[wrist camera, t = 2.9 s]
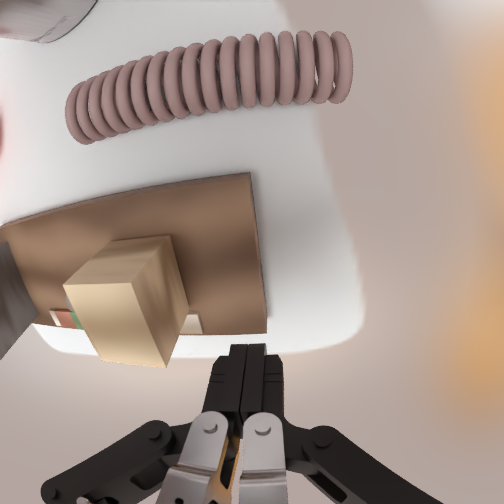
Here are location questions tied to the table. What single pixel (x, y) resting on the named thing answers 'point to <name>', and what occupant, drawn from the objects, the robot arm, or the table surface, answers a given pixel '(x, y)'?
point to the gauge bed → (132, 227)
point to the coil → (210, 82)
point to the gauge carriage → (131, 301)
